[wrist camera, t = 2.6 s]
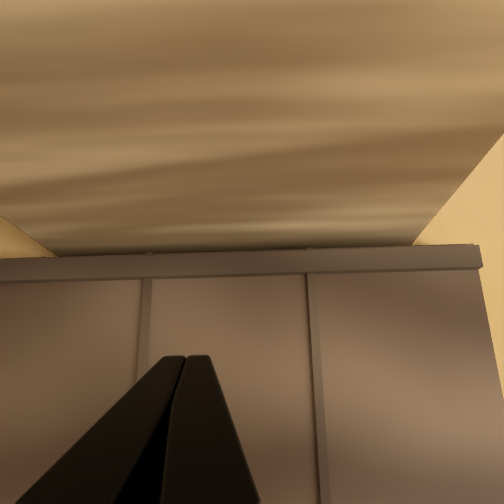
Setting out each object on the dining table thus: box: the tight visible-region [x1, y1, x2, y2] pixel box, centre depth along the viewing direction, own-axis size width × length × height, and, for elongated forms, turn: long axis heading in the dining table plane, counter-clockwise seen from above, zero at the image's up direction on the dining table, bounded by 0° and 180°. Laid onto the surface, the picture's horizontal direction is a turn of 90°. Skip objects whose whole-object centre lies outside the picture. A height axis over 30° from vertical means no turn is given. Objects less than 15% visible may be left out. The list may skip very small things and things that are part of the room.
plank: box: [0, 0, 504, 257], centre depth 12 cm, size 2×14×16 cm, turn 91°
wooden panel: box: [0, 244, 504, 504], centre depth 15 cm, size 16×18×2 cm
